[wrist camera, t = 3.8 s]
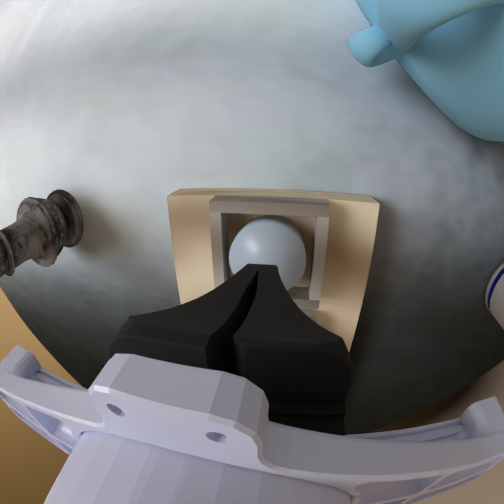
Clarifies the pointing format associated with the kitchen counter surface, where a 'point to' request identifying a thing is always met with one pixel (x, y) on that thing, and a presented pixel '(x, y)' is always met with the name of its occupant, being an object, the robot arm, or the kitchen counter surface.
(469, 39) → the decorative pot
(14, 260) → the grey chess piece
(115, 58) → the kitchen counter surface
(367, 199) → the button panel
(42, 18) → the kitchen counter surface
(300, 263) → the blue button
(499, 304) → the energy drink
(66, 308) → the kitchen counter surface
